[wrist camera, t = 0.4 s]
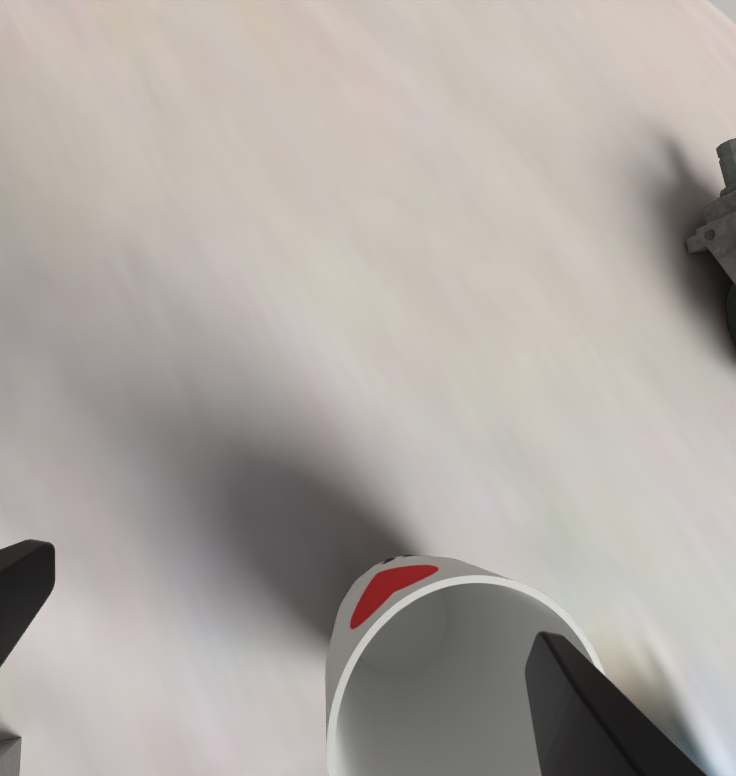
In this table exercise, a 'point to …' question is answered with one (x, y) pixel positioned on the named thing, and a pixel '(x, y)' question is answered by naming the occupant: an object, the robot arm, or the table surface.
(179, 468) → the table surface
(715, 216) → the caster wheel
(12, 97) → the table surface
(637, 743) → the robot arm
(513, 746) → the cup
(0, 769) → the link block
